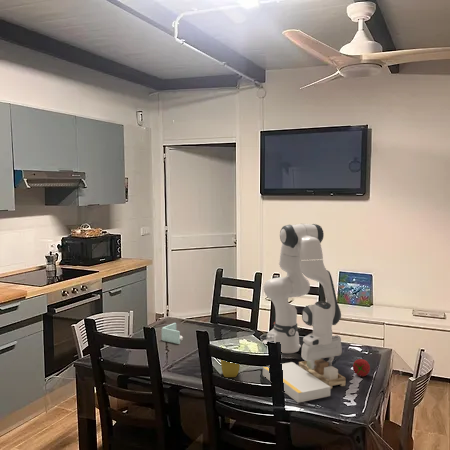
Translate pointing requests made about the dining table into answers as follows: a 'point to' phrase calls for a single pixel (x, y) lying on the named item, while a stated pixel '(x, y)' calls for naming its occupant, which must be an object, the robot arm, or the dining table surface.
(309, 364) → the block
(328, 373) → the block
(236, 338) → the dining table surface
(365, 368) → the tomato
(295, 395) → the dock
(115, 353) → the dining table surface
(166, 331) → the l-shaped corner panel
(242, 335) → the dining table surface
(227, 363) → the flower pot
